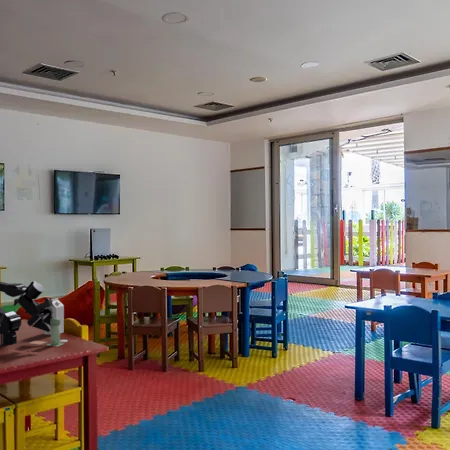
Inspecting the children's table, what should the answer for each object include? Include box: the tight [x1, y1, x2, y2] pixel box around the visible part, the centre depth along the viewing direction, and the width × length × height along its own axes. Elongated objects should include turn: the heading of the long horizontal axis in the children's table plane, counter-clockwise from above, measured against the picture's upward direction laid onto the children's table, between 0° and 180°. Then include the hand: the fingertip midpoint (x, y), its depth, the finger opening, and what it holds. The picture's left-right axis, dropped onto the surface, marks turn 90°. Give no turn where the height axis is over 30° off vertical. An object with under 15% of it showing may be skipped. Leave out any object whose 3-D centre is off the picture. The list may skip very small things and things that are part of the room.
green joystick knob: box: [50, 318, 61, 345], centre depth 229 cm, size 4×4×12 cm
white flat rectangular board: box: [27, 339, 68, 348], centre depth 233 cm, size 18×14×1 cm
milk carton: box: [43, 297, 65, 336], centre depth 253 cm, size 7×7×19 cm
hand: (53, 329), depth 229 cm, fingers open, 9 cm apart
